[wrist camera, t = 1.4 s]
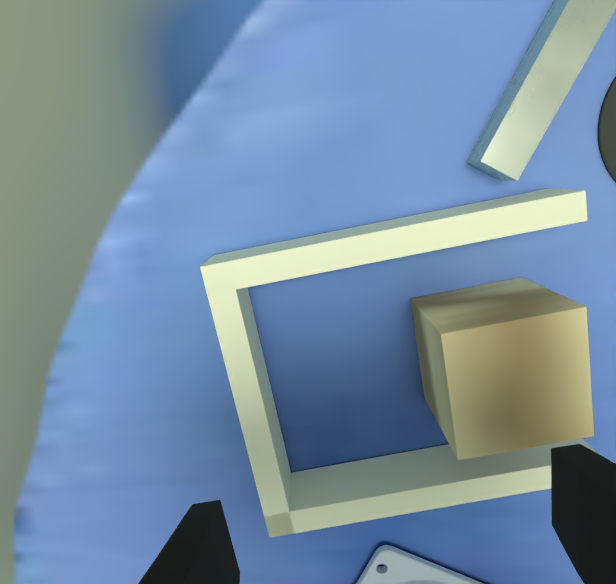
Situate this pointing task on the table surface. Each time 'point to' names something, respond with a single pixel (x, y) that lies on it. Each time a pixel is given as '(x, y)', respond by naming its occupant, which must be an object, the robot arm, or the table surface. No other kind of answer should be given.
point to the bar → (540, 86)
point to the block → (504, 366)
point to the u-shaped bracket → (385, 469)
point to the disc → (608, 130)
